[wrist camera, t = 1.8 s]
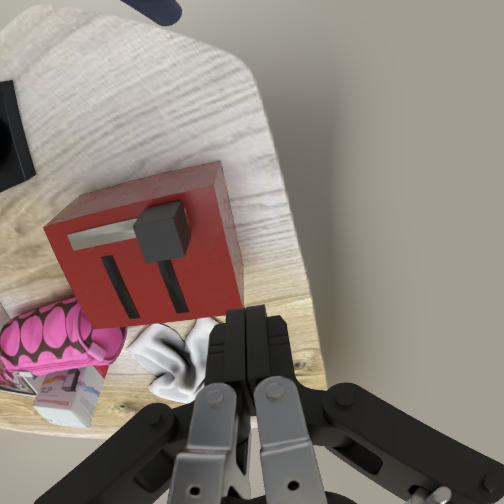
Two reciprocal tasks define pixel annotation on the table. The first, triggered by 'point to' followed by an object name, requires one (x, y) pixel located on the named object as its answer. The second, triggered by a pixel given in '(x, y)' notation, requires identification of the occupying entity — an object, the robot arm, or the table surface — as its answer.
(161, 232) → the toaster slider
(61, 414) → the ink box
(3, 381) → the product packaging
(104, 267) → the toaster
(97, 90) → the table surface
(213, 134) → the table surface
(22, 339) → the pencil case
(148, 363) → the cloth
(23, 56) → the table surface
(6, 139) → the black button base
